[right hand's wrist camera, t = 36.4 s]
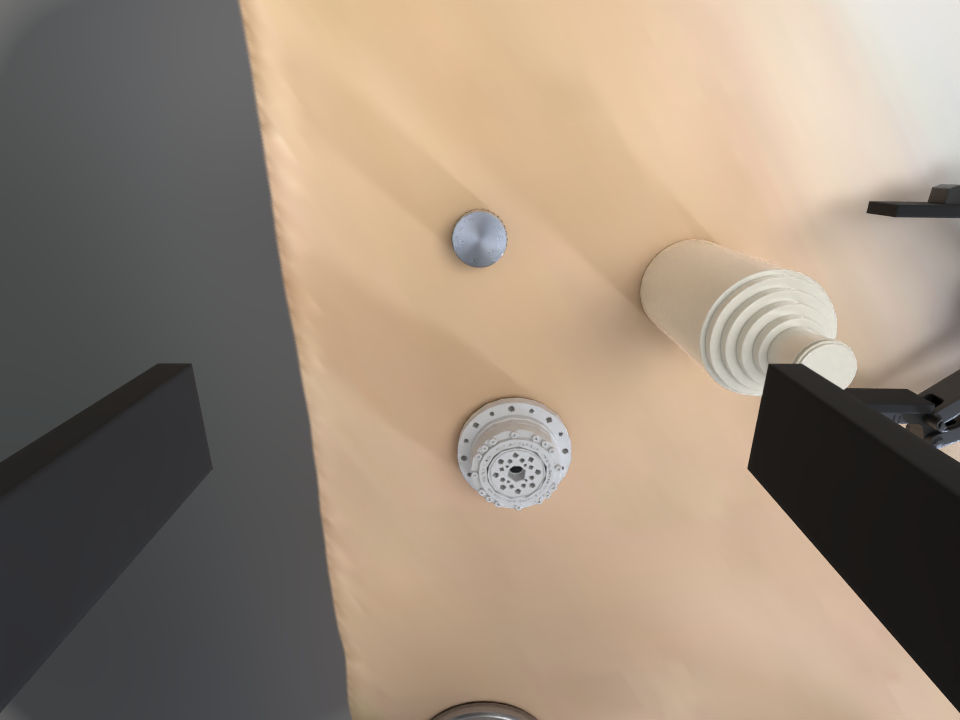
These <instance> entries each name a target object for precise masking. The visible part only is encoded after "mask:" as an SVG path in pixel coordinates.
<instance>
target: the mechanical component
mask: <svg viewBox="0 0 960 720" xmlns="http://www.w3.org/2000/svg"><path fill="white" fill-rule="evenodd" d="M570 462H571V441H570V438H569V435H568V432H567V429H566V427H565V426H564V424H563V422H562V421H561V419H560V418H559V416H558V415H557V414H556V413H555V412H553V411H552V410H551V409H549V408H548V407H546V406H545V405H544V404H541V403H539V402H537V401H534V400H530V399H525V398H506V399H500V400H497V401H494V402H491V403H488V404H486V405H484V406H483V407H482V408H480V409H479V410H478V411H476V412H475V413H474V414H472V415H471V417H470V418H469V419H468V420H467V422H466V423H465V425H464V427H463V429H462V431H461V433H460V437H459V442H458V463H459V467H460V470H461V472H462V474H463V476H464V478H465V479H466V481H467V482H468V483H469V484H470V486H471V487H473V488H474V489H475V490H476V491H478V492H479V495H481V496H483V497H485V498H486V501H487V502H492V503H494V504H495V506H496V507H500V506H501V507H506V508H514V509H515V508H516V510H521V509H522V508H526V507H529V506H532V505H535V504H539V505H540V504H542V501H543V500H544V499H546V498H550V497H551V493H552V492H553V491H555V490H556V489H557V485H558V484H559V483H560V481H561V480H562V479H563V478H564V476H565V475H566V473H567V470H568V467H569V465H570Z"/></svg>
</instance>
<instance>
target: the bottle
mask: <svg viewBox="0 0 960 720" xmlns="http://www.w3.org/2000/svg"><path fill="white" fill-rule="evenodd" d="M640 298H641V303H642V306H643V309H644V311H645V313H646V315H647V316H648V318H649V319H650V320H651V321H652V322H653V323H654V324H655V325H656V326H657V327H658V328H659V329H660V330H661V331H662V332H663V333H664V334H665V335H666V336H667V337H669V338H670V339H671V340H672V341H673V342H674V343H675V344H676V345H677V346H678V347H679V348H680V349H681V350H682V351H684V352H685V353H686V354H687V355H688V356H689V357H690V358H691V359H692V360H693V361H694V362H695V363H696V364H697V365H698V366H700V367H701V368H702V369H703V370H704V371H705V372H706V373H707V374H708V375H709V376H710V377H711V378H712V379H713V380H715V381H716V382H717V383H718V384H719V385H721V386H722V387H724V388H726V389H728V390H730V391H732V392H735V393H739V394H743V395H753V396H762V393H763V388H764V383H765V378H766V373H767V368H768V364H804V365H805V366H807V367H808V368H810V369H811V370H813V371H815V372H816V373H818V374H819V375H821V376H823V377H824V378H826V379H827V380H829V381H831V382H832V383H834V384H835V385H837V386H839V387H840V388H842V389H843V390H844V389H845V388H847V387H848V385H849V384H850V383H851V382H852V380H853V378H854V376H855V374H856V370H857V361H856V358H855V355H854V353H853V351H852V350H851V349H850V347H848V346H847V345H846V344H844V343H842V342H840V341H838V340H835V338H836V333H837V318H836V313H835V310H834V307H833V305H832V303H831V301H830V299H829V297H828V295H827V294H826V292H825V291H824V289H823V288H822V287H821V286H820V285H819V284H818V283H817V282H816V281H815V280H813V279H812V278H810V277H809V276H807V275H805V274H802V273H800V272H797V271H794V270H791V269H788V268H786V267H783V266H780V265H777V264H774V263H771V262H768V261H765V260H763V259H760V258H757V257H754V256H751V255H748V254H745V253H742V252H740V251H737V250H734V249H731V248H728V247H725V246H722V245H719V244H717V243H714V242H711V241H707V240H702V239H689V240H683V241H680V242H677V243H674V244H672V245H670V246H668V247H667V248H665V249H664V250H662V251H661V252H660V253H659V254H658V255H657V256H656V257H655V258H654V259H653V260H652V261H651V263H650V264H649V266H648V267H647V269H646V271H645V273H644V276H643V279H642V283H641V289H640Z"/></svg>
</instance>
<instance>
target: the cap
mask: <svg viewBox="0 0 960 720" xmlns="http://www.w3.org/2000/svg"><path fill="white" fill-rule="evenodd" d="M505 229H506V228H505V226H504V225H503V222H502V220H500V219H499V217H498V216H496V215H495V214H494V213H492V212H489V210H488V211H486V210H483V209H482V210H478V209H477V210H473V211H472V210H471V211H470V212H468V213H467V212H466V214H464V215H463V216H461V218H460V219H459V220H457V224H456V225H455V226H454V230H453V232H452V234H453V235H452V245H453V248H454V251H455V253H456V255H457V256H458V257H459V259H460V260H461V261H463V262H464V263H466V264H467V265H470V266H473V267H487V266H490V265H492V264H494V263H495V262H496V261H498V260H499V259H500V258H501V256H502V255H503V253H504V252H505V249H506V246H507V240H508V239H507V232H506V231H505Z"/></svg>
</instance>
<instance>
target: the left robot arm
mask: <svg viewBox="0 0 960 720" xmlns="http://www.w3.org/2000/svg"><path fill="white" fill-rule="evenodd" d="M867 213H870V214H877V215H884V216H891V217H925V218H960V185H942V184H941V185H938V186H935V187H933V188H932V190H931V193H930V197H929V200H928V202H878V201H869V205H868V209H867ZM844 390H845V391H846V392H848V393H850V394H851V395H853V396H854V397H856V398H858V399H859V400H861V401H862V402H864V403H866V404H867V405H869V406H870V407H872V408H874V409H875V410H877V411H878V412H880V413H881V414H883V415H885V416H886V417H888V418H889V419H891V420H893V421H894V422H896V423H898V424H907V425H906V429H907V430H909V431H910V432H912V433H913V434H915V435H916V436H918V437H920V438H921V439H923V440H924V441H926V442H928V443H929V444H931V445H932V446H934V447H936V448H937V449H939V448H942V447H945V446H947V445H950V444H953V443H956V442H958V441H960V370H958V371H956V372H955V373H953V374H951V375H950V376H948V377H946V378H945V379H943V380H941V381H940V382H938V383H937V384H935V385H933V386H932V387H930V388H928V389H927V390H925V391H923V392H922V393H920V394H918V395H917V394H915V393H913V392H911V391H910V390H908V389H869V388H845V389H844Z"/></svg>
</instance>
